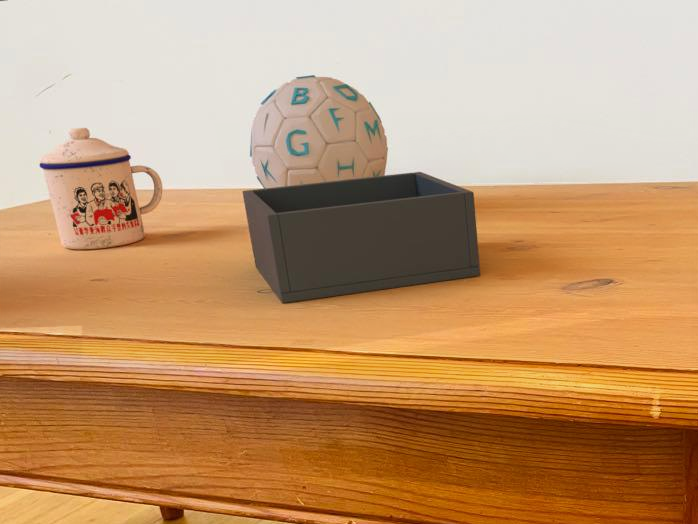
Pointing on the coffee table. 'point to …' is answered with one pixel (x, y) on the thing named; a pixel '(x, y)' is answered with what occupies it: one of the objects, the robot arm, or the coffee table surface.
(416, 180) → the bin
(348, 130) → the puzzle ball
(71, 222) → the teacup with lid
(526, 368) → the coffee table surface
